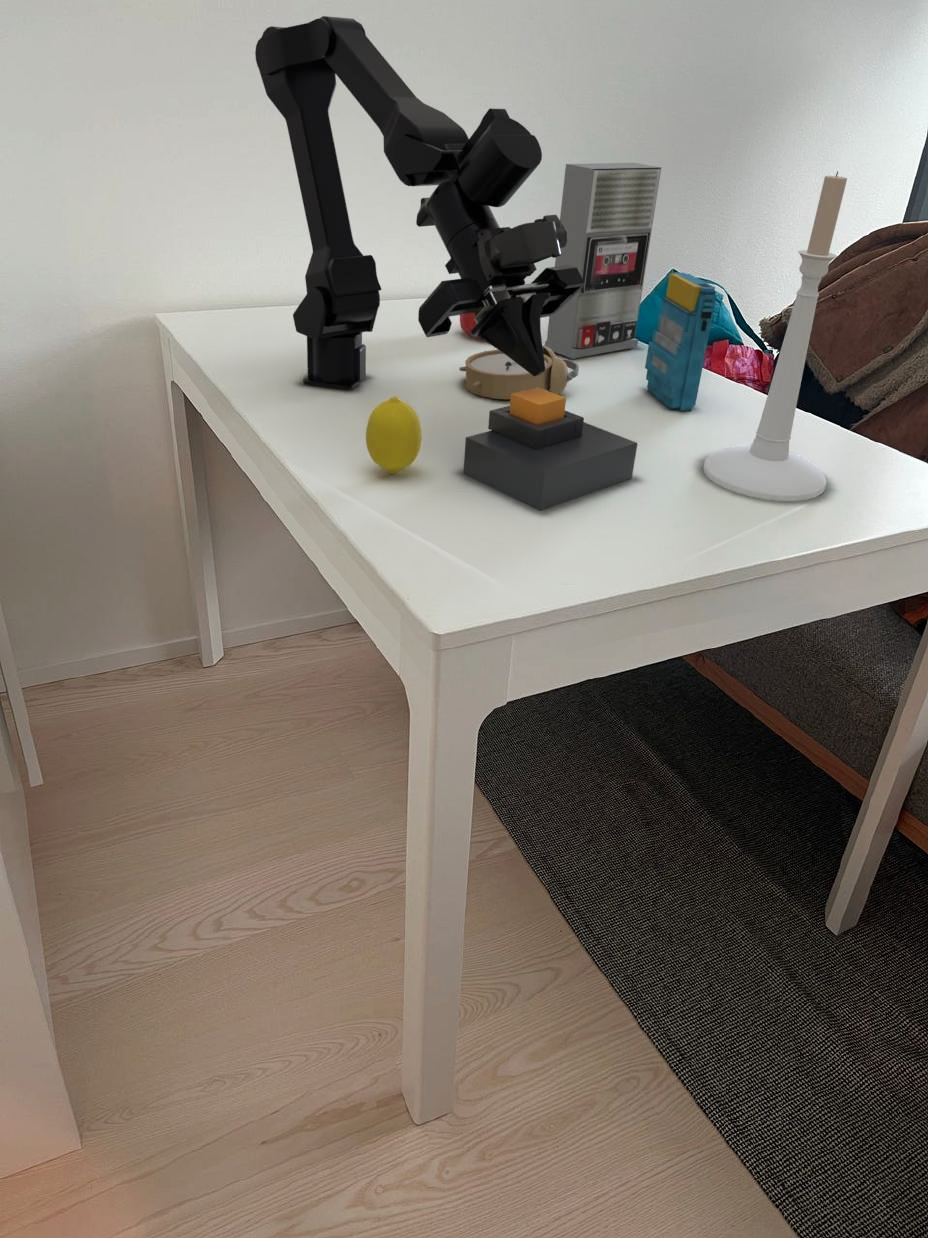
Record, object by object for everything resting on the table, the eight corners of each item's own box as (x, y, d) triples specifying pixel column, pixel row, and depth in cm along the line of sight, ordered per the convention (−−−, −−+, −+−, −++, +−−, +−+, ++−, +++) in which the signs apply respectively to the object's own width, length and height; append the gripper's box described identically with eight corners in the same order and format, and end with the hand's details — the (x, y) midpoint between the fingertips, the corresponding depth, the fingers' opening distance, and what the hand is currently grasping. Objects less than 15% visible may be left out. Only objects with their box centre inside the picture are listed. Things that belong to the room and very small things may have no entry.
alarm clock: (454, 353, 125) (562, 332, 127) (458, 389, 127) (564, 368, 129) (474, 379, 115) (591, 356, 117) (478, 417, 118) (592, 394, 120)
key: (508, 415, 97) (510, 393, 96) (535, 408, 99) (538, 386, 98) (536, 427, 94) (539, 404, 93) (563, 419, 97) (566, 397, 95)
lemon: (399, 489, 93) (401, 410, 89) (354, 474, 95) (354, 397, 91) (430, 472, 97) (434, 396, 93) (386, 459, 99) (388, 384, 95)
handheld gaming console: (698, 412, 119) (722, 289, 112) (667, 412, 118) (689, 288, 111) (667, 387, 127) (688, 271, 120) (639, 388, 126) (658, 271, 119)
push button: (460, 472, 97) (463, 416, 94) (552, 445, 106) (558, 393, 103) (540, 511, 91) (547, 452, 87) (631, 478, 99) (641, 423, 96)
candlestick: (681, 474, 101) (742, 165, 85) (735, 445, 110) (799, 160, 94) (795, 512, 94) (883, 183, 79) (843, 478, 103) (930, 176, 87)
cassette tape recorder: (573, 360, 136) (597, 169, 123) (544, 350, 140) (564, 163, 127) (637, 349, 143) (666, 168, 131) (608, 339, 147) (634, 162, 134)
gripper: (443, 187, 83) (520, 342, 82) (583, 180, 95) (652, 317, 94) (386, 263, 92) (455, 405, 91) (519, 249, 104) (582, 375, 103)
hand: (540, 373), depth 94 cm, fingers closed
